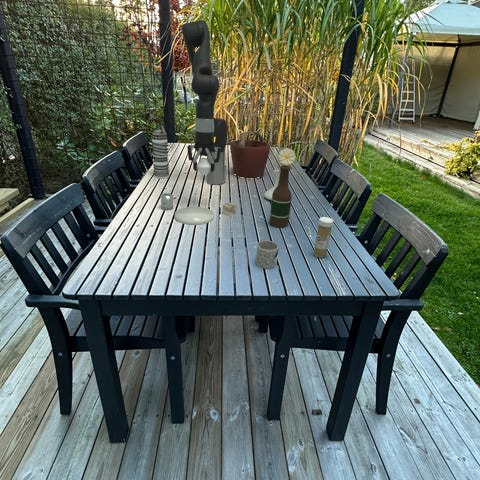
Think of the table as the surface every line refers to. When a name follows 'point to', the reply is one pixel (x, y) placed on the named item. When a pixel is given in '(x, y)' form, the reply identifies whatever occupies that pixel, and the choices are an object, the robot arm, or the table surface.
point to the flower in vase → (285, 158)
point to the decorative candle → (160, 154)
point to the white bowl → (194, 215)
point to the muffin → (203, 166)
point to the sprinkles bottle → (323, 237)
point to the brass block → (229, 209)
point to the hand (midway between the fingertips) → (203, 171)
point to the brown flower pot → (249, 156)
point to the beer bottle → (281, 200)
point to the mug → (267, 254)
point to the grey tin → (166, 201)
